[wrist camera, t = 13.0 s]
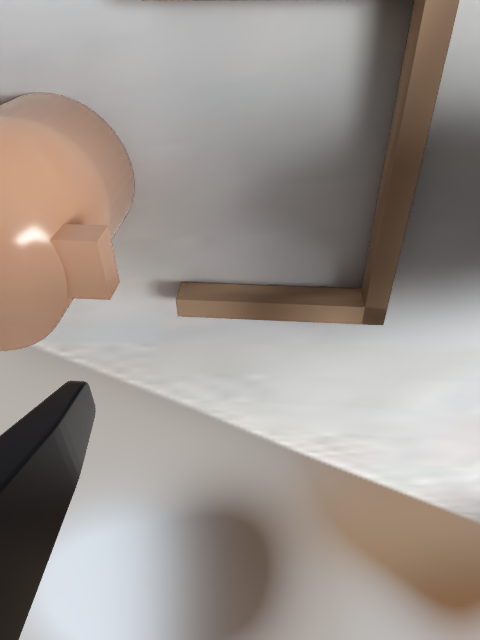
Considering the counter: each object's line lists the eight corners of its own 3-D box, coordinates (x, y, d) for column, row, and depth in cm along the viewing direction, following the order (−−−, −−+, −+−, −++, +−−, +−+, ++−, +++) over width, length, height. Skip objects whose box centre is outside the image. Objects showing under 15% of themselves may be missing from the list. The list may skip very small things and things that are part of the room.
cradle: (454, -43, 14) (469, -43, 13) (378, 306, 23) (383, 325, 22) (149, -40, 15) (137, -40, 14) (183, 298, 23) (177, 316, 22)
